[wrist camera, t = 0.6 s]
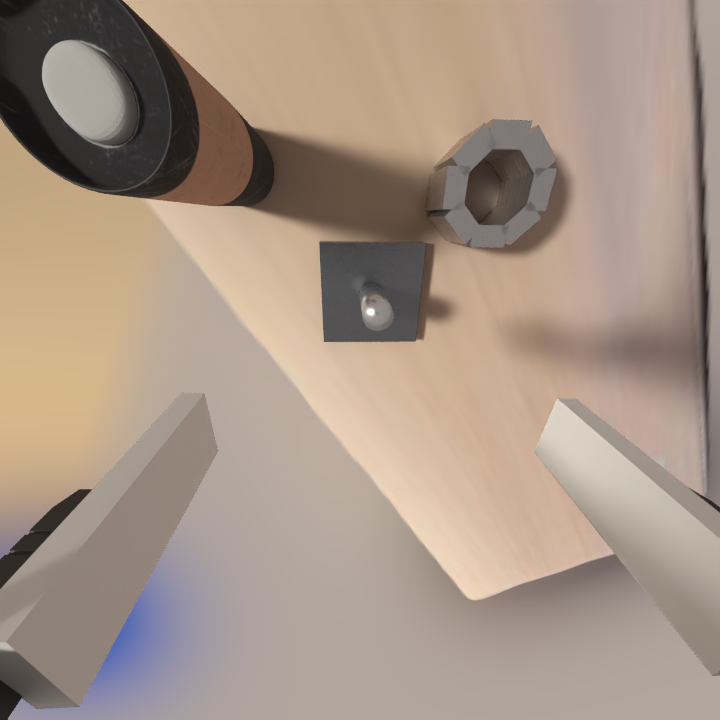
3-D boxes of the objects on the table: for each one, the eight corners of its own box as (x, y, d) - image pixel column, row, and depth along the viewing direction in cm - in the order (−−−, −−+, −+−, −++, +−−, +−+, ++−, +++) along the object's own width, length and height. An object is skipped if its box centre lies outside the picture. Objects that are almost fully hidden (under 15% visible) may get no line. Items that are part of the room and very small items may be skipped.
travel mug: (289, 193, 31) (211, 158, 13) (226, 219, 32) (71, 222, 14) (254, 106, 27) (83, -102, 10) (185, 138, 28) (-91, 3, 10)
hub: (434, 136, 29) (453, 118, 24) (529, 139, 30) (570, 121, 24) (423, 242, 34) (437, 246, 28) (505, 243, 34) (535, 248, 29)
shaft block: (320, 241, 33) (311, 249, 25) (423, 242, 34) (449, 250, 25) (324, 337, 38) (318, 371, 30) (413, 337, 39) (431, 370, 30)
